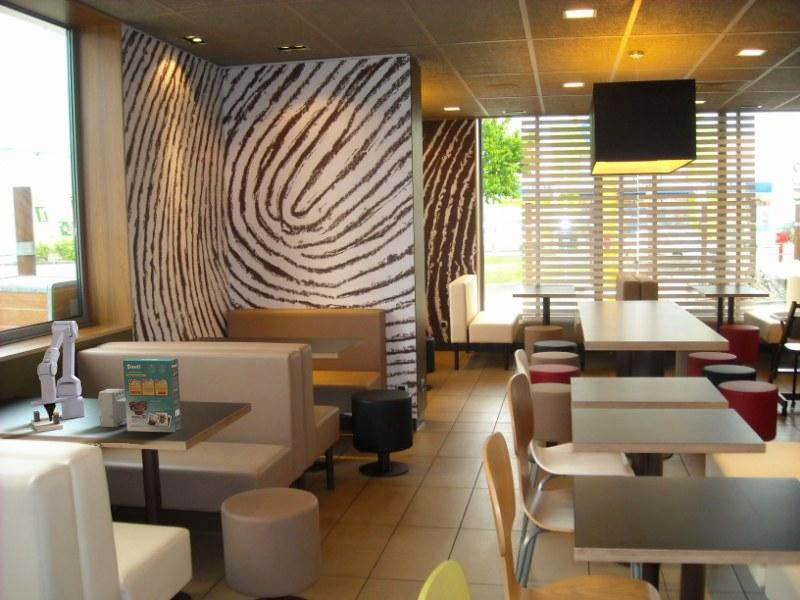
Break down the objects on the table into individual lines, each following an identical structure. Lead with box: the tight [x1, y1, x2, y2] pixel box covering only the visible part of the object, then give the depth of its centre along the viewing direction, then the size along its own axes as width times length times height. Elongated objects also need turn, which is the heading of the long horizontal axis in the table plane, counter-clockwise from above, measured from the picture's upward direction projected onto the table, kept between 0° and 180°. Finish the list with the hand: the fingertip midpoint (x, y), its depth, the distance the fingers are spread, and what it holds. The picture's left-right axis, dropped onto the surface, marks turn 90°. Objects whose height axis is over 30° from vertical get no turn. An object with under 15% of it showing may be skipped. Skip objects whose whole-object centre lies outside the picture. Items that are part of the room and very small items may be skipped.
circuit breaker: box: [97, 388, 127, 428], centre depth 370 cm, size 8×14×15 cm, turn 79°
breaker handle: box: [52, 411, 61, 424], centre depth 370 cm, size 2×4×5 cm, turn 31°
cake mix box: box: [122, 357, 182, 433], centre depth 358 cm, size 22×6×30 cm, turn 77°
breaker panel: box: [30, 410, 64, 433], centre depth 373 cm, size 10×20×6 cm, turn 31°
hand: (50, 420), depth 369 cm, fingers closed
